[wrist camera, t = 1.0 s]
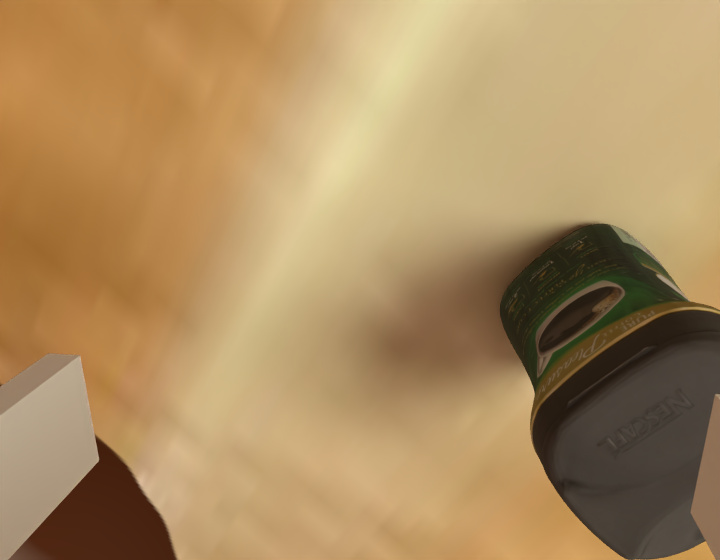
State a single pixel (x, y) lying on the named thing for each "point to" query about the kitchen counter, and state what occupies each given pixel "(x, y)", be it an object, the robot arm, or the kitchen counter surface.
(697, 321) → the coffee jar
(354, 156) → the kitchen counter surface
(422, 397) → the kitchen counter surface
